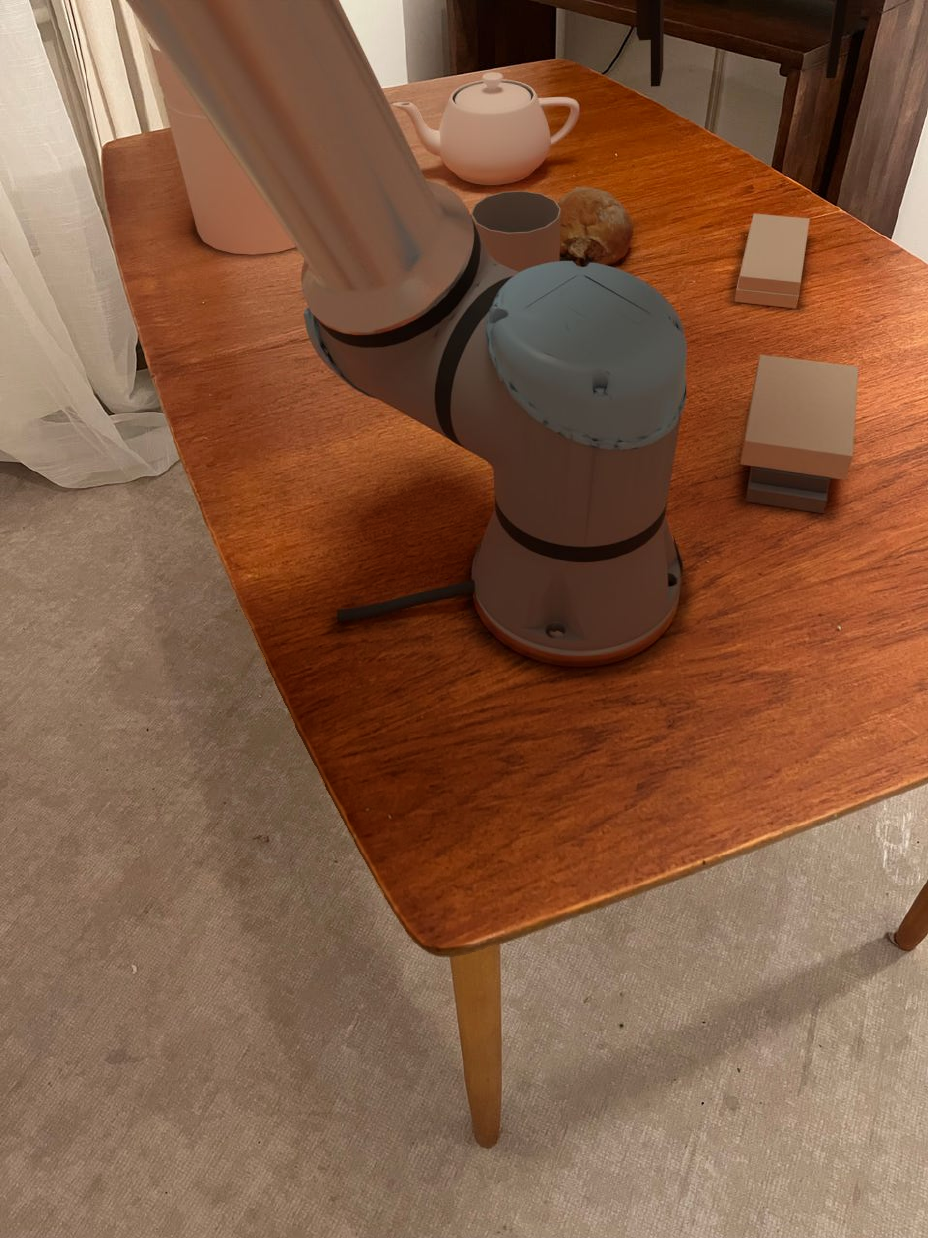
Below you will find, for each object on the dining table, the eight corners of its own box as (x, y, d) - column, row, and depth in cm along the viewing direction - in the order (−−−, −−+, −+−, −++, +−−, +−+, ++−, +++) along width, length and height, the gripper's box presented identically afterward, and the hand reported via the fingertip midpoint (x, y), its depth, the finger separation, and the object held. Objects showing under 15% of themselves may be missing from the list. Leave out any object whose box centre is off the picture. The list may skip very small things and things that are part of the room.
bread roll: (636, 282, 108) (661, 207, 104) (585, 280, 101) (611, 198, 97) (566, 254, 113) (588, 181, 109) (513, 250, 105) (534, 171, 101)
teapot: (568, 138, 125) (571, 45, 117) (586, 186, 116) (591, 89, 108) (396, 153, 125) (388, 60, 117) (401, 202, 116) (392, 106, 107)
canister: (190, 201, 118) (142, 15, 103) (321, 179, 121) (292, -6, 106) (205, 265, 108) (153, 68, 93) (347, 239, 110) (319, 43, 95)
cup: (550, 333, 96) (553, 235, 88) (468, 327, 97) (463, 230, 90) (562, 288, 101) (565, 192, 94) (484, 283, 103) (481, 188, 95)
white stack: (795, 308, 97) (801, 282, 95) (734, 301, 98) (738, 276, 96) (805, 240, 106) (811, 215, 103) (748, 234, 107) (753, 209, 105)
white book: (845, 480, 76) (853, 455, 74) (739, 464, 77) (744, 440, 76) (851, 390, 83) (858, 366, 81) (754, 377, 85) (759, 353, 83)
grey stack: (822, 513, 77) (831, 486, 75) (745, 501, 79) (751, 474, 77) (832, 408, 86) (839, 381, 84) (762, 399, 87) (768, 372, 85)
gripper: (978, -316, 61) (907, 39, 78) (579, -261, 67) (594, 57, 84) (987, -274, 57) (909, 91, 74) (561, -220, 63) (582, 105, 80)
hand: (742, 73), depth 79 cm, fingers open, 13 cm apart
